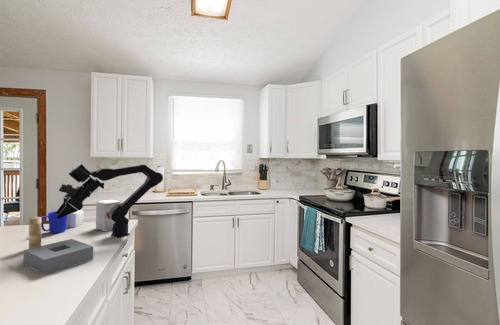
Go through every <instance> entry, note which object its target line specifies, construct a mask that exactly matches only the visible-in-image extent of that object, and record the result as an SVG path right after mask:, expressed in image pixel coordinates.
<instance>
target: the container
mask: <svg viewBox="0 0 500 325" xmlns="http://www.w3.org/2000/svg"><path fill="white" fill-rule="evenodd" d="M77 210H78V209H77ZM83 224H84V210H78V211H76V212H73V213H71V214H68V215H67V225H66V228H76V227H79V226H81V225H83Z"/></svg>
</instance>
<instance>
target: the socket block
mask: <svg viewBox="0 0 500 325" xmlns="http://www.w3.org/2000/svg"><path fill="white" fill-rule="evenodd" d="M91 260H94V246H93V245H90V244H87V243H85V242H82V241H79V240H76V239H74V238H70V239H65V240H60V241H57V242H52V243H48V244H43V245H41V246H39V247H35V248H31V249H29V248H27V249H24V250H23V264H24V265H26V266H28V267H29V268H31V269H33V270H35V271H37V272H39V273H41V274H43V275H47V274H51V273H55V272H58V271H60V270H62V269H66V268H69V267H73V266H75V265H79V264H81V263H82V264H83V263H84V262H87V261H88V262H89V261H91Z"/></svg>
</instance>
